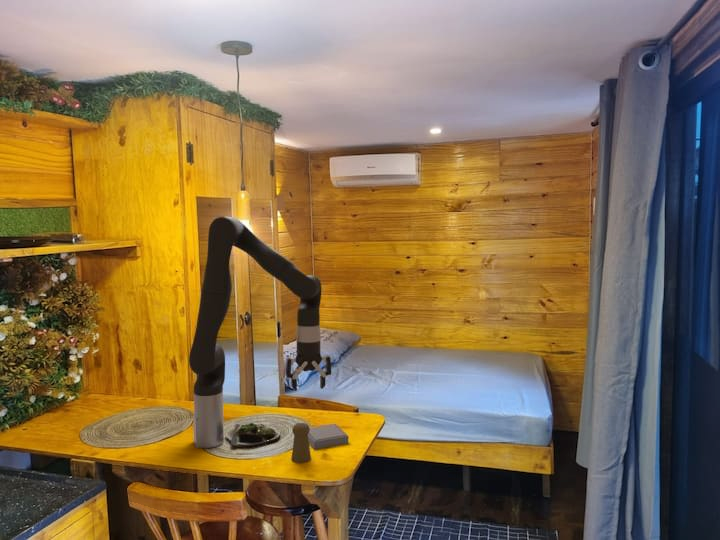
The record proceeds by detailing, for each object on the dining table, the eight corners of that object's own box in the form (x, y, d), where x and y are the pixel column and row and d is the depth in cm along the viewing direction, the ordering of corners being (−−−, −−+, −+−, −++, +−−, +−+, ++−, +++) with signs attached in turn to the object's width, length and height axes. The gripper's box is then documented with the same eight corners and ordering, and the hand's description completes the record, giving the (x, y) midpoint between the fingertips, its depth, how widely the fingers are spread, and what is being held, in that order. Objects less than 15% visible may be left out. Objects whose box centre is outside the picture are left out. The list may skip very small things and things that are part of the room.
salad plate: (214, 434, 189) (214, 421, 188) (261, 423, 199) (261, 411, 198) (236, 453, 173) (235, 439, 172) (286, 441, 183) (286, 427, 183)
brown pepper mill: (298, 464, 164) (298, 429, 163) (287, 458, 169) (287, 423, 168) (314, 459, 168) (314, 424, 167) (303, 453, 173) (303, 419, 172)
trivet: (314, 449, 175) (314, 441, 175) (302, 436, 186) (302, 428, 186) (348, 443, 180) (348, 435, 180) (335, 430, 191) (335, 423, 191)
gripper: (287, 342, 166) (287, 394, 168) (333, 340, 170) (333, 390, 171) (284, 337, 174) (284, 387, 175) (328, 335, 177) (328, 384, 179)
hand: (308, 389), depth 173 cm, fingers open, 8 cm apart
